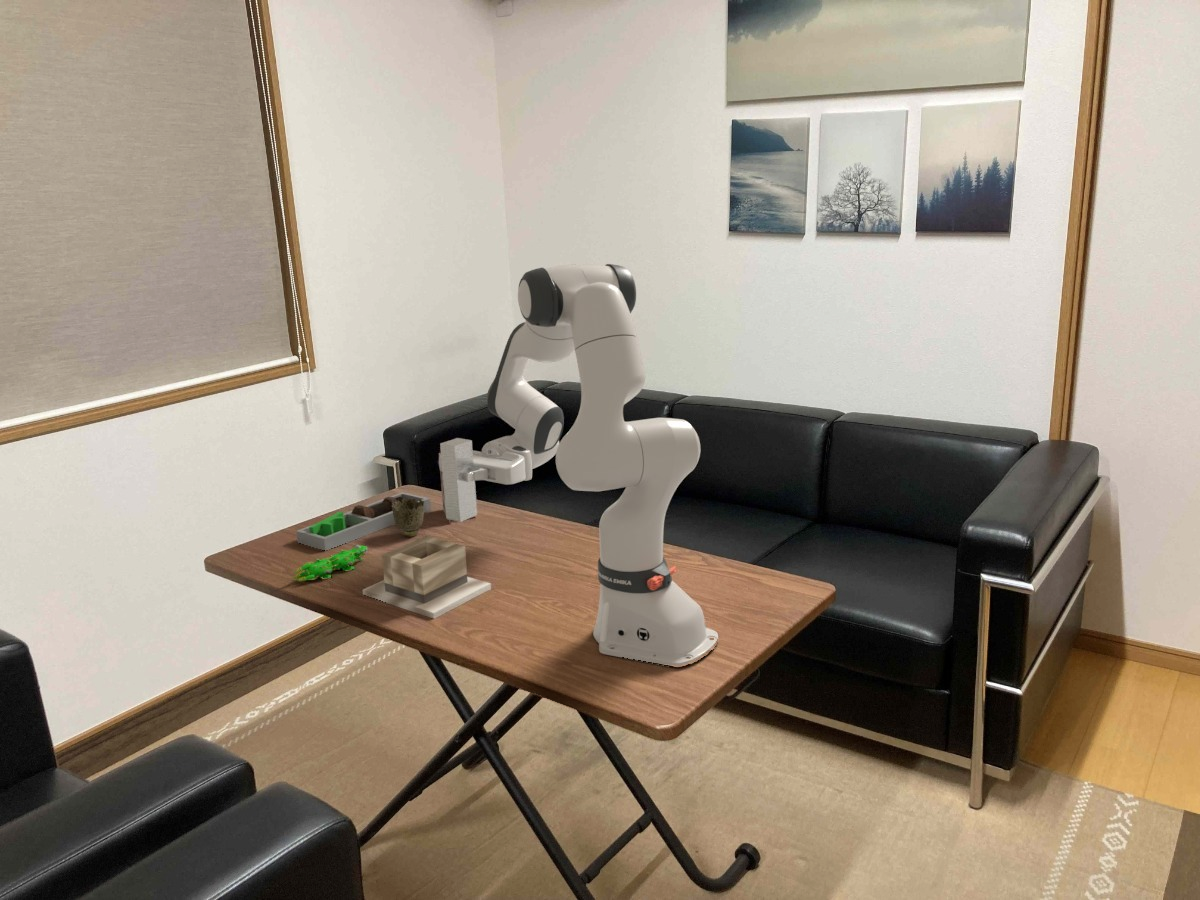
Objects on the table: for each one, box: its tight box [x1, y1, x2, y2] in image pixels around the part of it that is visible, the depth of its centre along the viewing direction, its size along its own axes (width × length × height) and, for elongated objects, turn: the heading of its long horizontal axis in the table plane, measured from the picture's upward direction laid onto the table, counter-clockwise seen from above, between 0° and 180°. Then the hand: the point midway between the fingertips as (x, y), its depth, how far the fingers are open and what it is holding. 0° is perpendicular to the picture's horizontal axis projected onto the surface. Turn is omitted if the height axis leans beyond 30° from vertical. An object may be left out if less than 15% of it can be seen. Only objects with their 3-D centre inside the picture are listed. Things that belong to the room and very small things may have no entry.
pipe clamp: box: [309, 511, 347, 537], centre depth 219 cm, size 11×4×5 cm, turn 158°
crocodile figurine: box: [292, 544, 368, 582], centre depth 200 cm, size 7×18×4 cm, turn 140°
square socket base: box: [362, 535, 492, 620], centre depth 187 cm, size 20×16×9 cm
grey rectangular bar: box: [439, 437, 478, 523], centre depth 191 cm, size 4×5×16 cm
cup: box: [391, 498, 425, 538], centre depth 219 cm, size 8×7×8 cm
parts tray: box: [295, 491, 432, 552], centre depth 227 cm, size 10×33×3 cm, turn 144°
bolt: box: [351, 496, 407, 519], centre depth 232 cm, size 6×5×15 cm
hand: (455, 476), depth 190 cm, fingers closed on grey rectangular bar, 4 cm apart
